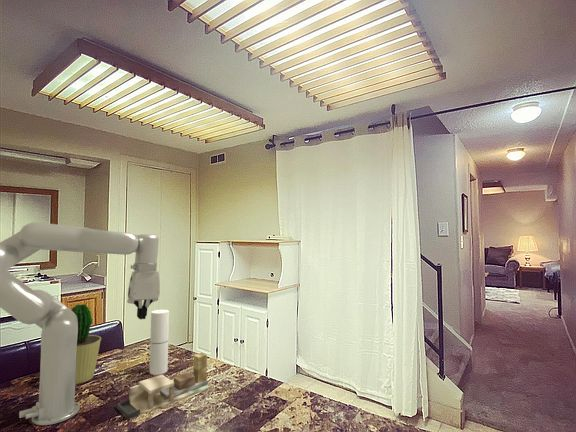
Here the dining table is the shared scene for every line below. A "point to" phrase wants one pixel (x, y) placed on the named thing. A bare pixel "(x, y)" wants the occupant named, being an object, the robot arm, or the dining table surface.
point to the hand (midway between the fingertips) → (141, 318)
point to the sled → (190, 377)
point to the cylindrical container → (159, 342)
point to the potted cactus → (85, 345)
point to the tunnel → (152, 396)
